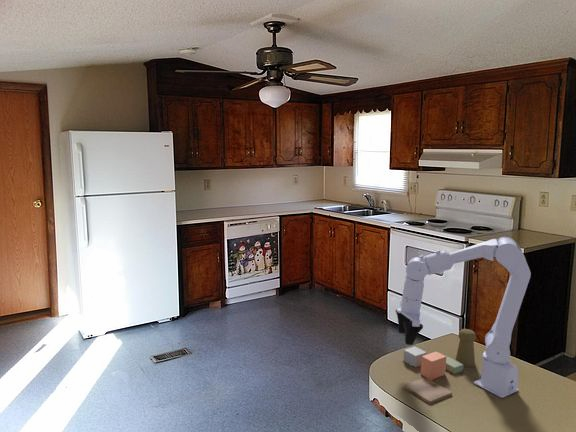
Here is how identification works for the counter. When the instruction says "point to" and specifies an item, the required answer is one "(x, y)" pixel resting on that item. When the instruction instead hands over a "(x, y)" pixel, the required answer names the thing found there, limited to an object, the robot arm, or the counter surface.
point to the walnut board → (427, 390)
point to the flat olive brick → (453, 365)
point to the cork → (466, 348)
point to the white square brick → (414, 356)
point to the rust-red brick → (433, 365)
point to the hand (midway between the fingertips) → (405, 338)
